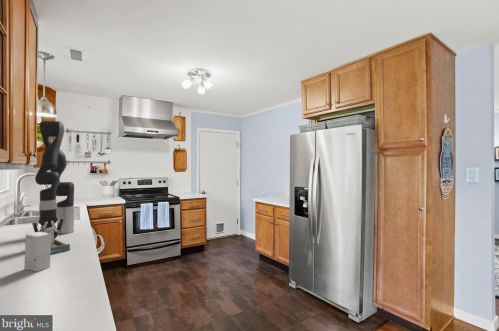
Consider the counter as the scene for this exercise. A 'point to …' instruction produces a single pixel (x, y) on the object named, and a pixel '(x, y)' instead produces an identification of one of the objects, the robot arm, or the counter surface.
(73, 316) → the counter surface
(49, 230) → the medicine box
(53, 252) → the wooden tray
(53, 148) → the robot arm
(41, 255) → the skincare box
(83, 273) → the counter surface
